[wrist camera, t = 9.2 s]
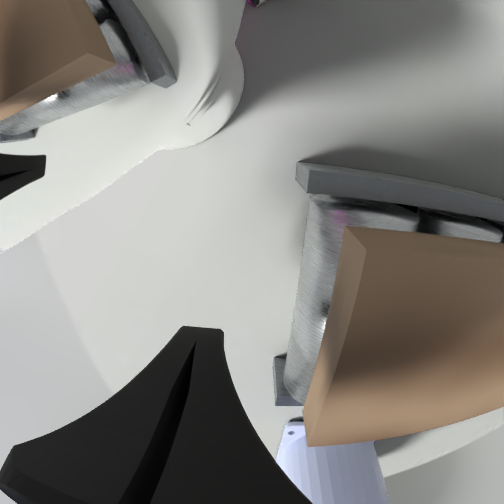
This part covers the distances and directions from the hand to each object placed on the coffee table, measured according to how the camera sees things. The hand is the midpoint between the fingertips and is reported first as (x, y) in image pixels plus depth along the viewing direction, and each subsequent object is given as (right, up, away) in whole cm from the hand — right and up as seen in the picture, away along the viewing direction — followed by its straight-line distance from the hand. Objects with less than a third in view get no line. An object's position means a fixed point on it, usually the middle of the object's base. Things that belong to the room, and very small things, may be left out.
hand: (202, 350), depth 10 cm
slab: (+10, 0, +1) cm, 10 cm away
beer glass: (-2, +11, +2) cm, 11 cm away
